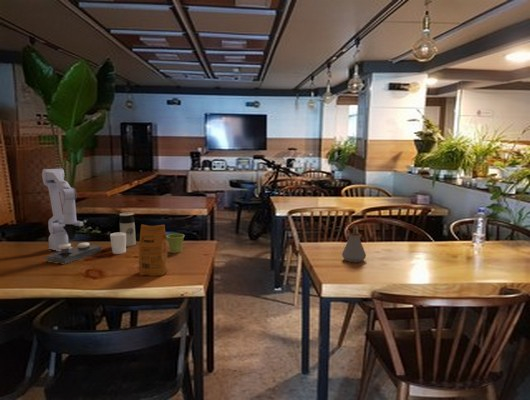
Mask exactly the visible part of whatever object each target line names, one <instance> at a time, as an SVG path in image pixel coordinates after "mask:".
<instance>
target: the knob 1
mask: <svg viewBox="0 0 530 400" xmlns="http://www.w3.org/2000/svg"><path fill="white" fill-rule="evenodd" d="M70 247H72V243H69V242H68V243H63V244H59V245H58V248H59V249H61V255H69V248H70Z"/></svg>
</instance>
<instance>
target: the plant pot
mask: <svg viewBox="0 0 530 400" xmlns="http://www.w3.org/2000/svg"><path fill="white" fill-rule="evenodd" d="M166 238H167V243H168V248H169V252H170V253H171V254H178V253H181V252H183V245H184V244H183V243H184V238H185V234H183V233H172V234H166Z"/></svg>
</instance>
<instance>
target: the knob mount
mask: <svg viewBox="0 0 530 400" xmlns="http://www.w3.org/2000/svg"><path fill="white" fill-rule="evenodd" d="M89 245H90V246H89V247H88V248H87V249H84V250H83V249H80V248H78V245H77V246H73V248H70V249H69V255H61V252H60V251H56V252H55V253H51V254H49V255H46V256H45V259H46V262H47V261H52V262H58V263H64V264H63V265H67V264H66V263H68V264H70V263H69V262H71V263H73V262H72V261H74V262H76V261H79V260H82V259H85V258H87V257H90V256H93V255H95V254H99V253H101V252H102V245H94V244H89ZM75 260H76V261H75ZM58 263H57V264H58Z"/></svg>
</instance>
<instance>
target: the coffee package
mask: <svg viewBox="0 0 530 400" xmlns="http://www.w3.org/2000/svg"><path fill="white" fill-rule="evenodd" d="M139 232H140V233H139V243H138V267H139V276H151V277H159V276H164V275H165V274H166V273H167V272H168V270H169V263H168V262H169V261H168V239H167V237H166V236H167V233H166V225H165V224H159V225H147V224H141V225H140V231H139Z"/></svg>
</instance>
